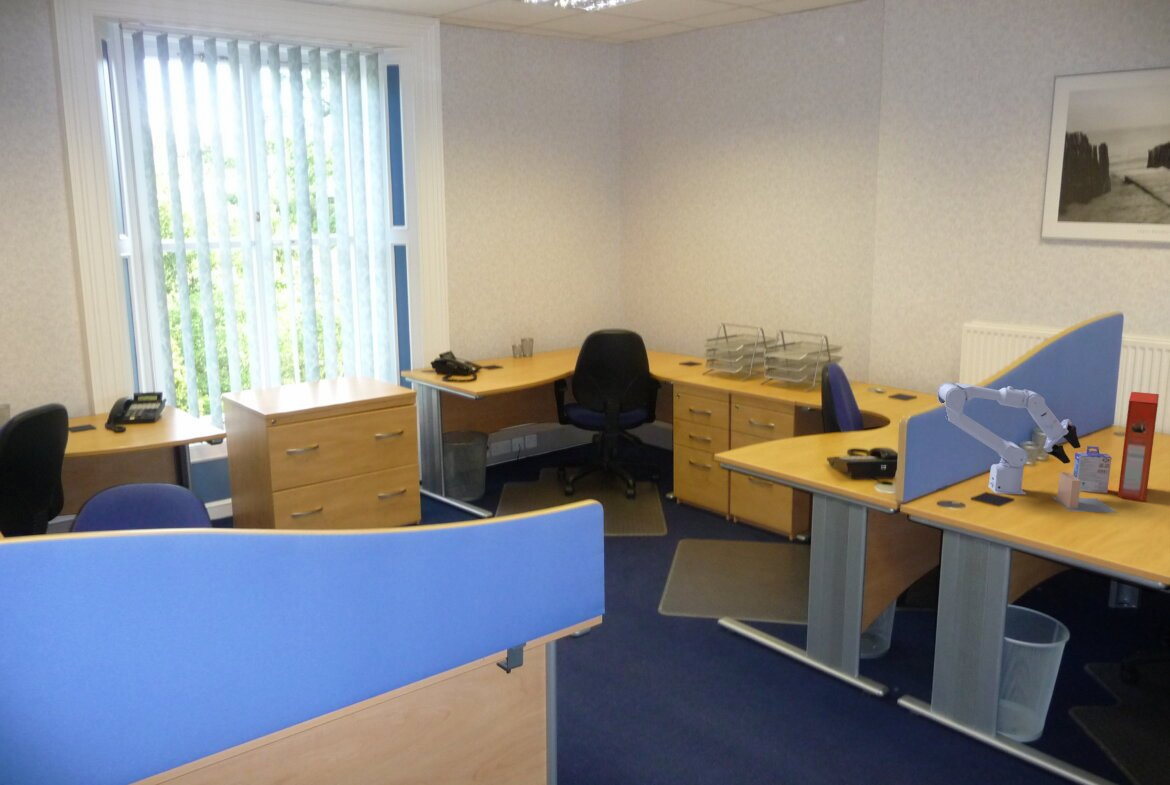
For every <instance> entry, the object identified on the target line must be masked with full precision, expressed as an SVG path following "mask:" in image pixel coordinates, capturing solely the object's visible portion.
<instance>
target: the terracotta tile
mask: <svg viewBox="0 0 1170 785" xmlns="http://www.w3.org/2000/svg"><path fill="white" fill-rule="evenodd" d="M1080 485H1081V480H1079V479H1078V478H1076V477H1075V476H1073V474H1072V473H1070V472H1069V471H1068V472H1067V471H1065V472H1063V471H1060V472H1059V480H1058V488H1057V489H1058V490H1057V496H1056V497H1057V500H1058V501H1060V502H1061V503H1062V504H1064V505H1065V506H1066V507H1068V508H1069V509H1078V501H1079V498H1080V493H1081V491H1080Z"/></svg>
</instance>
